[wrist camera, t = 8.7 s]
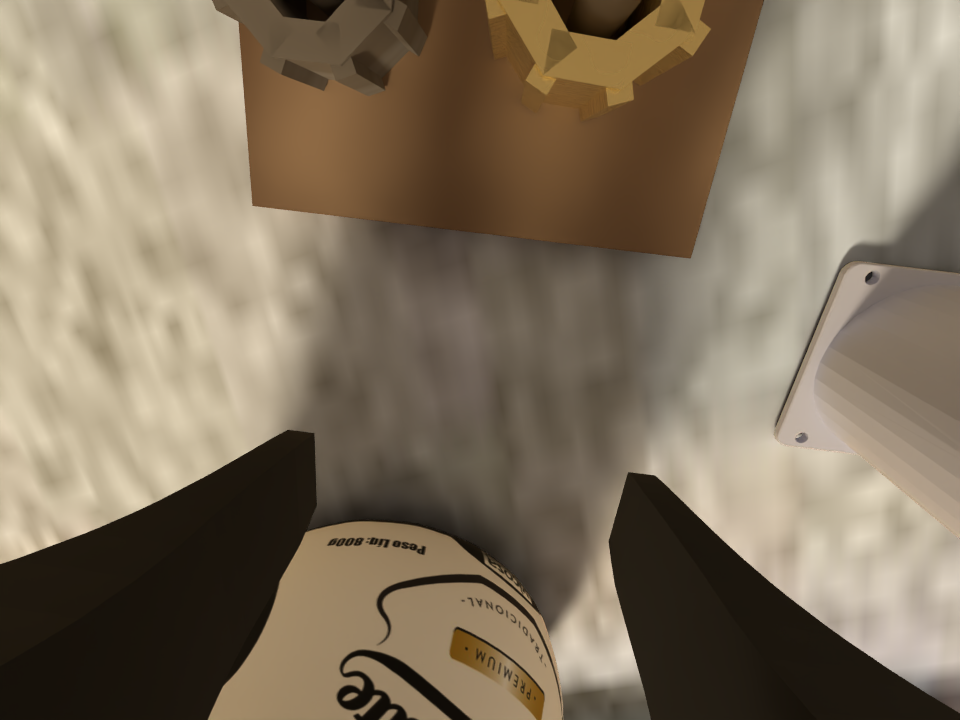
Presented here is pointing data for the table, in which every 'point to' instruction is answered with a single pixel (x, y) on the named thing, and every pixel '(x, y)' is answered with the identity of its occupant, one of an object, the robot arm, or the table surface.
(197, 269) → the table surface
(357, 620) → the milk container
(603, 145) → the gear board
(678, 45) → the brass gear
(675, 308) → the table surface
